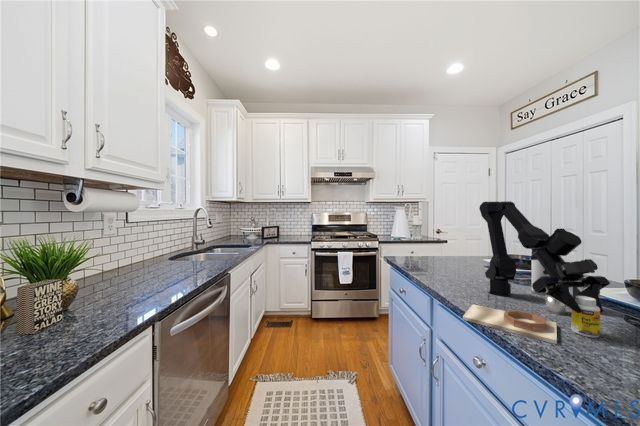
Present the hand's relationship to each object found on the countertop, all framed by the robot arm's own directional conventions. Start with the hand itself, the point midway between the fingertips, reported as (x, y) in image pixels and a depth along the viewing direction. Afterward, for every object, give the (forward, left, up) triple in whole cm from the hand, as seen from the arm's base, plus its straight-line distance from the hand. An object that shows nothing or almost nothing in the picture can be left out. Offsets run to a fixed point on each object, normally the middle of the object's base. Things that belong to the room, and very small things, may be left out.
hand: (590, 312), depth 69 cm
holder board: (-18, -5, -7) cm, 20 cm away
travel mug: (-11, +38, -7) cm, 40 cm away
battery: (+1, +26, -7) cm, 27 cm away
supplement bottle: (-1, +1, -7) cm, 7 cm away
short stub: (-7, +16, -7) cm, 19 cm away
